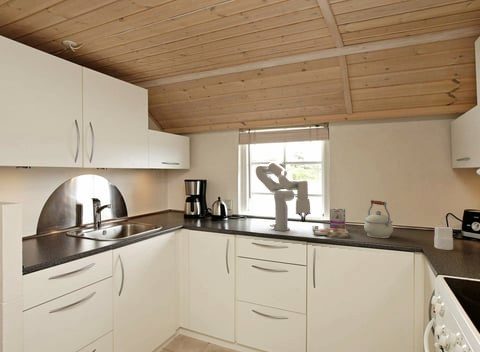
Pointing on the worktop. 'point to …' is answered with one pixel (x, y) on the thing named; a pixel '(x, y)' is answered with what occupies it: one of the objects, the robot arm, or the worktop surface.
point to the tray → (317, 231)
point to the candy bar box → (337, 218)
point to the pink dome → (324, 230)
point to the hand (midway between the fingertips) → (303, 222)
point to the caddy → (338, 233)
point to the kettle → (378, 223)
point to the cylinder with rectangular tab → (443, 238)
